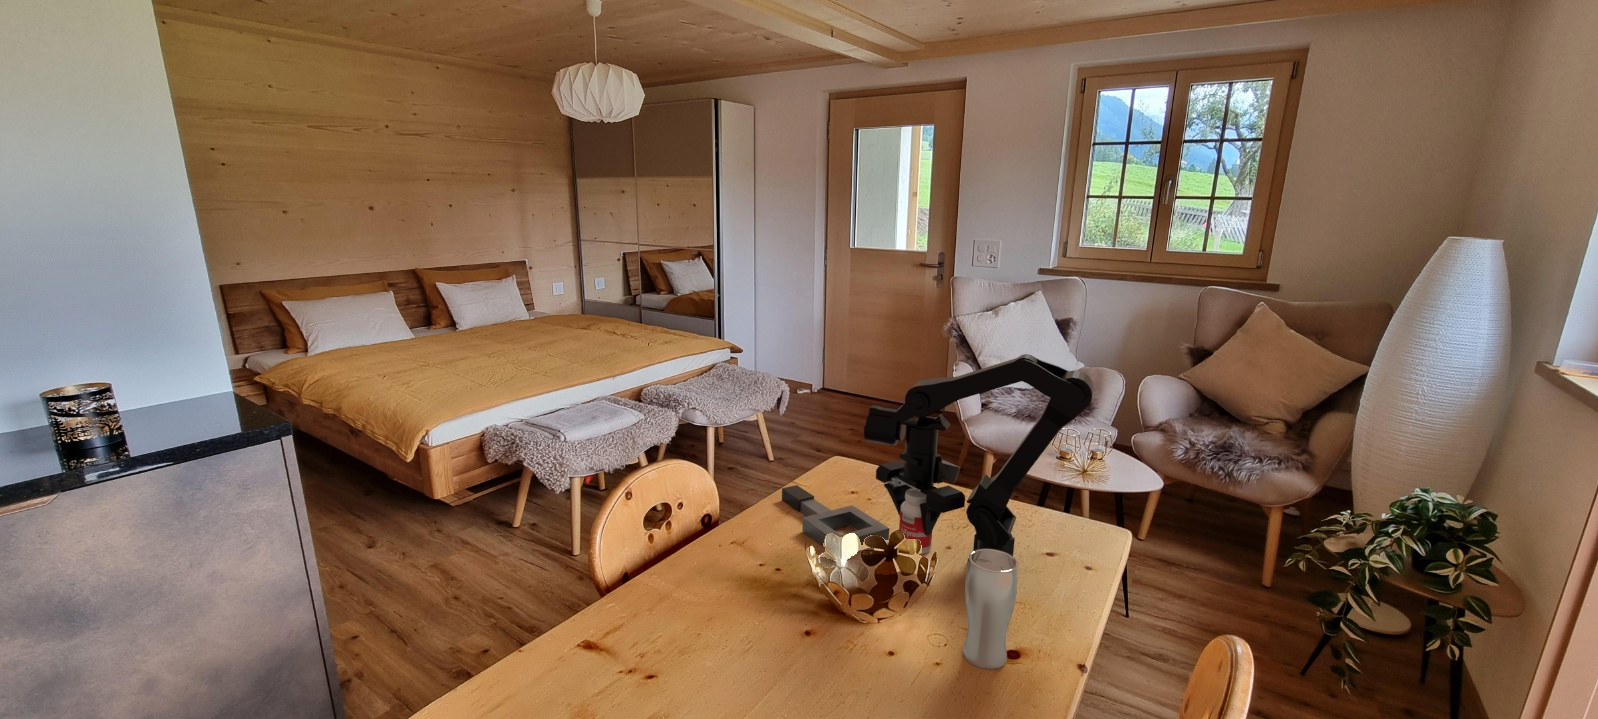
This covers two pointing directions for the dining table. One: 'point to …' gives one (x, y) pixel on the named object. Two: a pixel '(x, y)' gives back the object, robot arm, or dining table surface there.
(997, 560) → the beer glass
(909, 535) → the pill bottle
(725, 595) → the dining table surface
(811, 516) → the socket
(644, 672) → the dining table surface
